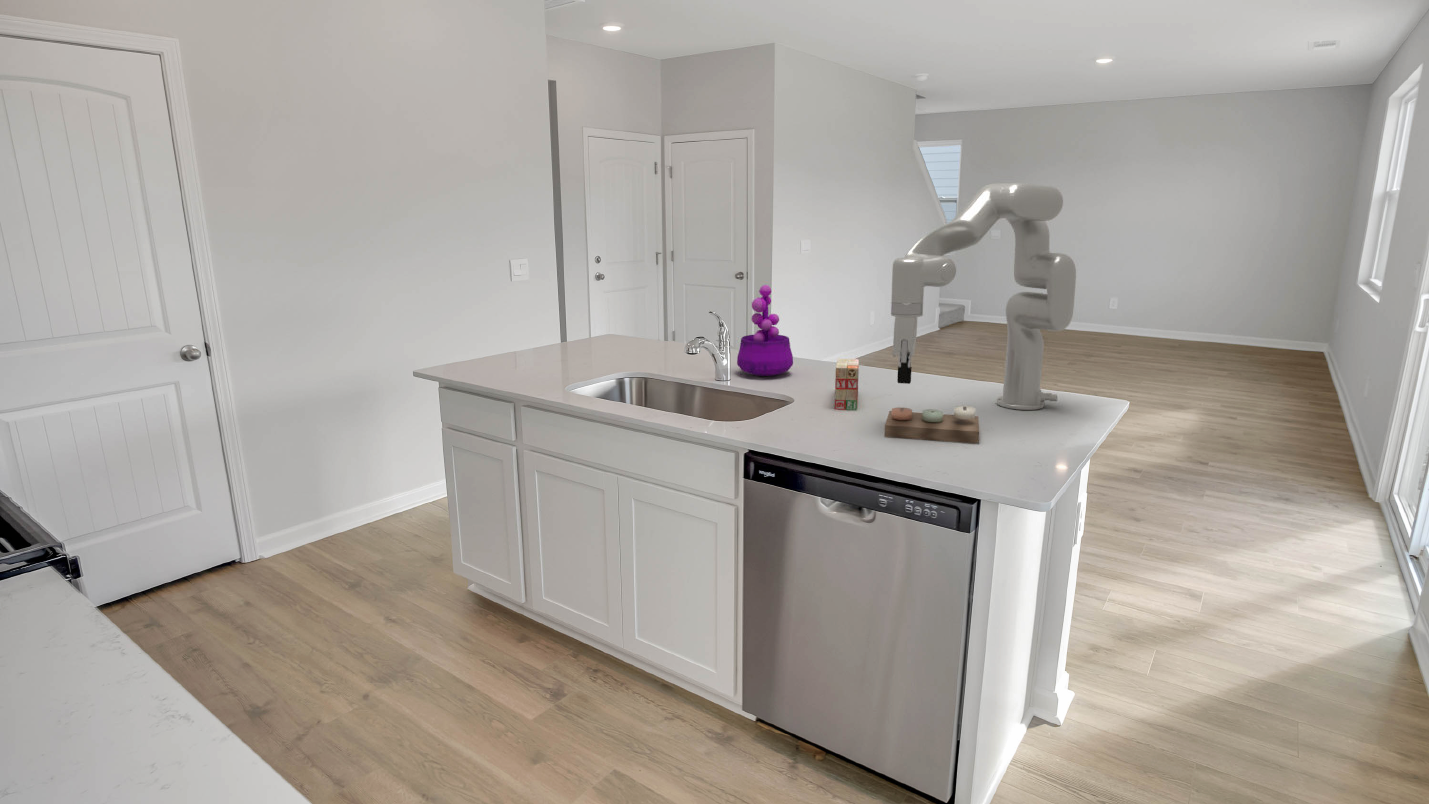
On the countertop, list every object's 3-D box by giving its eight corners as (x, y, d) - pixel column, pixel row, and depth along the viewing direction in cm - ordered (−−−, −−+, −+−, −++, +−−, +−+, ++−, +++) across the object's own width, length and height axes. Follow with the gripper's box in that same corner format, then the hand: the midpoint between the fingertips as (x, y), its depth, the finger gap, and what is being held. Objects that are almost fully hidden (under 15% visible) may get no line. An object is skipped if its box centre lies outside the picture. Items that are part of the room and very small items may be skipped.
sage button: (943, 417, 196) (943, 409, 195) (942, 423, 191) (943, 414, 191) (922, 416, 197) (922, 408, 197) (921, 421, 192) (921, 413, 192)
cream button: (974, 414, 193) (975, 406, 193) (975, 419, 189) (975, 411, 188) (953, 413, 195) (954, 405, 194) (953, 418, 190) (954, 410, 190)
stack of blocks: (837, 392, 238) (838, 352, 235) (858, 393, 236) (859, 353, 233) (834, 410, 217) (835, 366, 214) (857, 411, 216) (858, 367, 213)
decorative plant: (777, 382, 250) (778, 289, 243) (727, 377, 259) (726, 286, 252) (801, 371, 266) (803, 283, 259) (753, 366, 275) (753, 281, 268)
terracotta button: (912, 415, 198) (912, 407, 197) (911, 420, 193) (911, 412, 193) (892, 414, 199) (892, 406, 199) (890, 419, 195) (890, 411, 194)
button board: (977, 427, 198) (978, 416, 198) (978, 443, 185) (979, 431, 185) (889, 421, 204) (889, 410, 204) (884, 436, 192) (884, 425, 191)
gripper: (893, 304, 197) (891, 375, 202) (888, 313, 184) (886, 389, 188) (924, 305, 195) (921, 376, 200) (921, 314, 181) (918, 390, 186)
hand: (904, 382), depth 194 cm, fingers closed
